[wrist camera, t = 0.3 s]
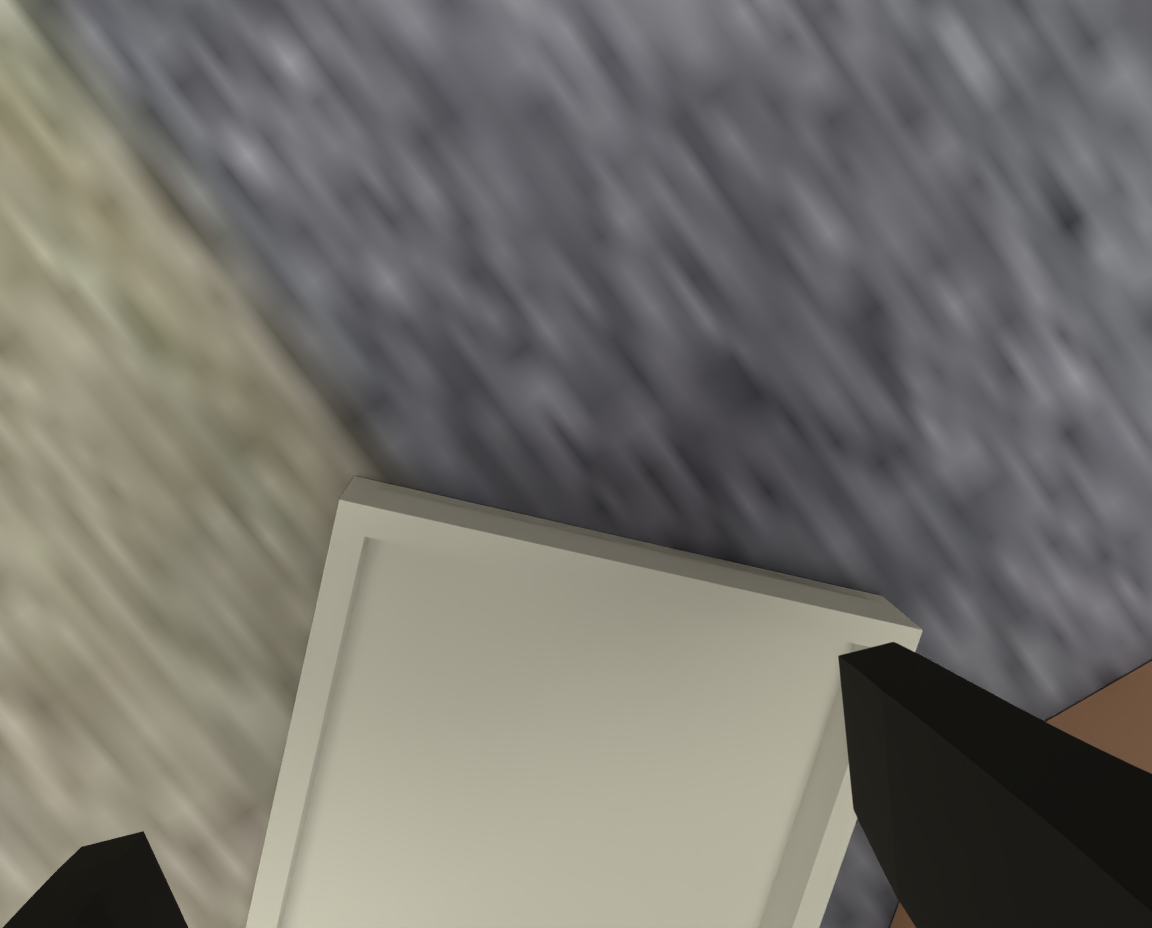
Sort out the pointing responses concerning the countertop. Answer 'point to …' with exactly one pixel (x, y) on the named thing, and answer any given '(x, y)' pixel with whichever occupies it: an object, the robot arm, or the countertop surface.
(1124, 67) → the countertop surface
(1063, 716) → the octagonal open frame
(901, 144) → the countertop surface
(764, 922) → the cream tray
